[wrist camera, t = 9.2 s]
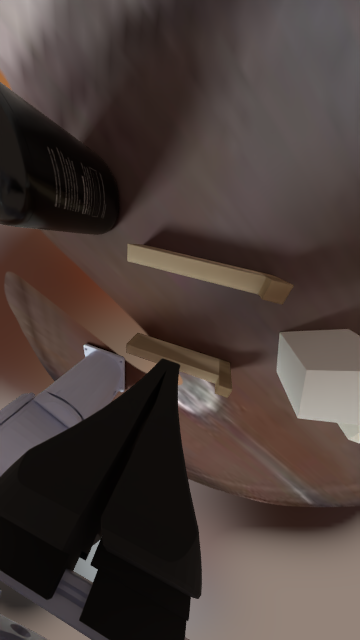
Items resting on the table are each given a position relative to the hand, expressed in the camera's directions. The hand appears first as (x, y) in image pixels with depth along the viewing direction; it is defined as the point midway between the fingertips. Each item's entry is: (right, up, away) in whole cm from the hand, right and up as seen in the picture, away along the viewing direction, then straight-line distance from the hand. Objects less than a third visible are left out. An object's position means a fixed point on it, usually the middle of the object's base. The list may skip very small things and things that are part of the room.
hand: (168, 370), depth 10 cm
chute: (+2, +4, +8) cm, 9 cm away
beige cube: (+16, 0, +7) cm, 17 cm away
